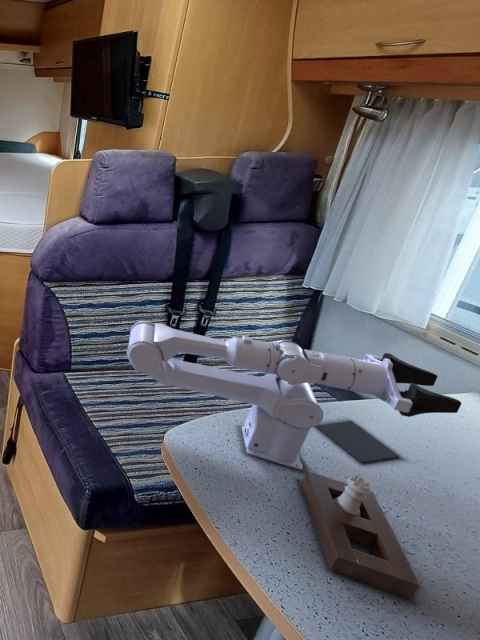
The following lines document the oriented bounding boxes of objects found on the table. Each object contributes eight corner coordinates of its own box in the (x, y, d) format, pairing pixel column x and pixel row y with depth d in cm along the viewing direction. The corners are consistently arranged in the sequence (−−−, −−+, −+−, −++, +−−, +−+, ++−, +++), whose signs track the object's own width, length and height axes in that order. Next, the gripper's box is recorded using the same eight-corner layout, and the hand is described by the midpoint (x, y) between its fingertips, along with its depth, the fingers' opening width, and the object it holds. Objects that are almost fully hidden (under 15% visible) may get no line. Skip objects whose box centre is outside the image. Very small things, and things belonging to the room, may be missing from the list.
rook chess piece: (363, 530, 77) (384, 496, 74) (334, 524, 77) (353, 489, 74) (349, 507, 81) (368, 473, 78) (321, 501, 82) (338, 468, 78)
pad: (360, 463, 91) (361, 462, 91) (315, 426, 100) (315, 425, 100) (398, 457, 93) (399, 456, 93) (351, 421, 102) (351, 420, 102)
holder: (330, 569, 70) (337, 556, 69) (300, 482, 85) (306, 470, 84) (411, 599, 67) (420, 586, 66) (365, 503, 82) (372, 491, 81)
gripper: (370, 377, 75) (480, 399, 70) (342, 334, 87) (433, 350, 83) (356, 412, 77) (461, 435, 73) (331, 366, 90) (419, 383, 85)
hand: (445, 392), depth 78 cm, fingers open, 7 cm apart
